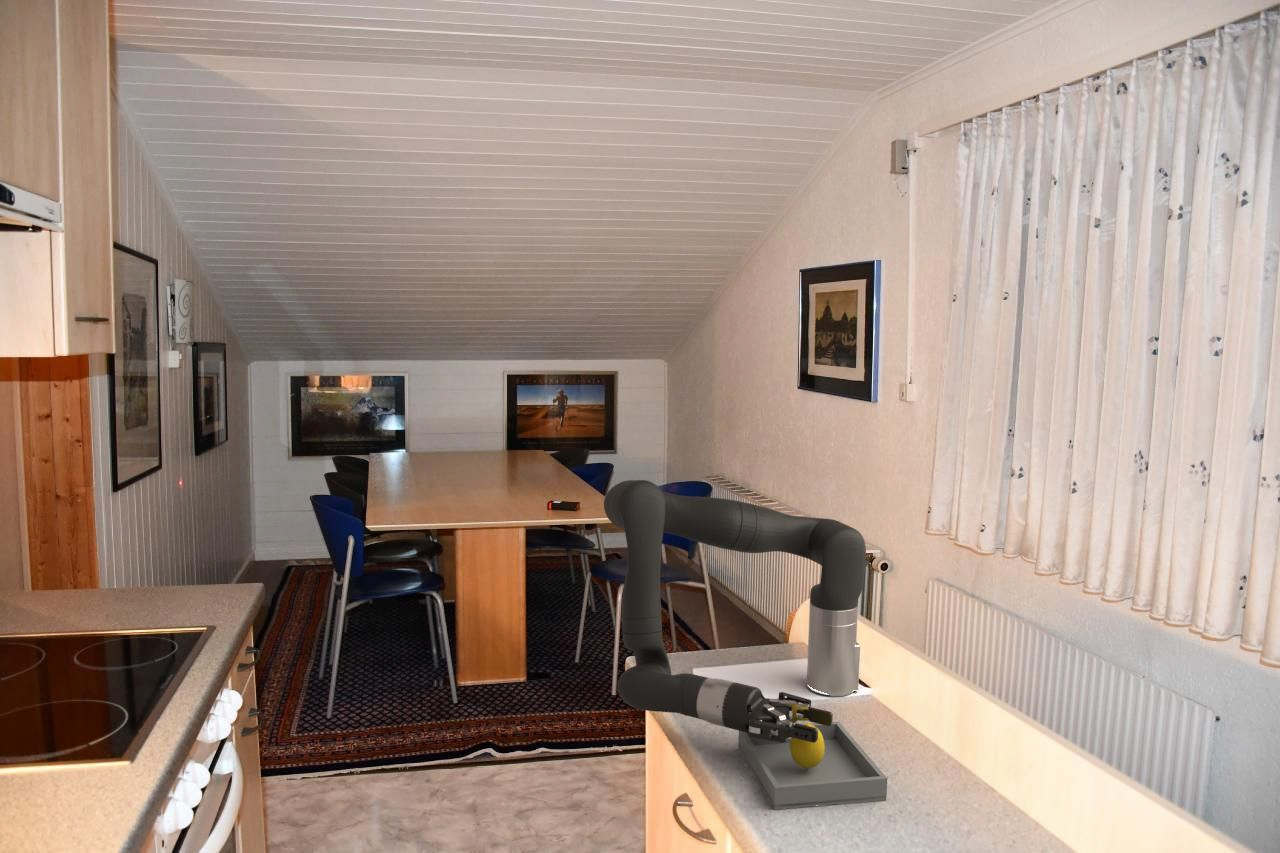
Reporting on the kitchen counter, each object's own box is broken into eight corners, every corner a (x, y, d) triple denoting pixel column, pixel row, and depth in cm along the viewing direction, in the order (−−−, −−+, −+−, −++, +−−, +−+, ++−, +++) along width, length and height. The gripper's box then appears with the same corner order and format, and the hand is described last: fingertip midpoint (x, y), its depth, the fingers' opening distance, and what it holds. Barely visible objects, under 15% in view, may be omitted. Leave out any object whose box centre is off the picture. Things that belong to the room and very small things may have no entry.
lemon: (804, 782, 156) (804, 736, 155) (783, 765, 161) (782, 721, 159) (831, 772, 159) (831, 726, 157) (810, 756, 164) (810, 712, 162)
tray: (838, 741, 172) (838, 721, 171) (886, 800, 152) (887, 778, 152) (738, 748, 169) (738, 728, 168) (774, 809, 149) (775, 787, 149)
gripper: (711, 698, 160) (809, 722, 151) (747, 669, 172) (840, 689, 164) (710, 742, 161) (808, 768, 152) (746, 709, 173) (838, 732, 165)
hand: (824, 727), depth 158 cm, fingers open, 6 cm apart
